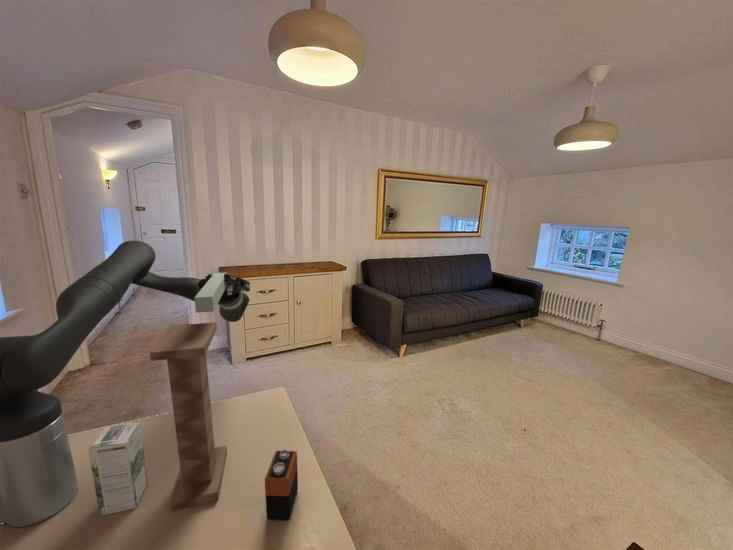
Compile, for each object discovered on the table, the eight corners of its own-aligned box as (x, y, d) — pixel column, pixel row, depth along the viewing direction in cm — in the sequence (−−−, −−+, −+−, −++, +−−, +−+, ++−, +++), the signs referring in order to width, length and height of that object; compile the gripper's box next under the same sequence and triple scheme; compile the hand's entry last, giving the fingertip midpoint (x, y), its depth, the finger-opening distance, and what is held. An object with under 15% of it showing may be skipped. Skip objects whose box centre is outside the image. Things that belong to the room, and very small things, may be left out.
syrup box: (114, 489, 60) (103, 426, 57) (149, 482, 61) (140, 420, 58) (99, 517, 54) (85, 449, 51) (137, 508, 56) (127, 442, 53)
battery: (265, 521, 55) (263, 475, 52) (277, 487, 61) (275, 445, 59) (289, 522, 55) (288, 476, 52) (298, 488, 61) (297, 446, 59)
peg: (196, 312, 57) (194, 297, 57) (215, 284, 78) (214, 273, 77) (213, 311, 58) (212, 296, 57) (228, 283, 79) (227, 272, 78)
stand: (171, 511, 56) (149, 352, 49) (188, 460, 67) (172, 325, 60) (218, 500, 58) (204, 347, 51) (227, 452, 69) (216, 322, 63)
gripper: (201, 283, 87) (185, 263, 71) (253, 281, 91) (248, 262, 75) (200, 309, 85) (183, 294, 69) (253, 305, 89) (249, 291, 73)
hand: (217, 277), depth 72 cm, fingers closed on peg, 3 cm apart
